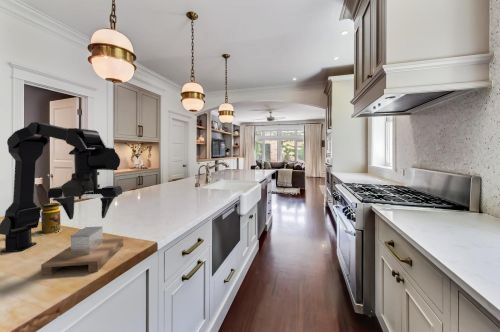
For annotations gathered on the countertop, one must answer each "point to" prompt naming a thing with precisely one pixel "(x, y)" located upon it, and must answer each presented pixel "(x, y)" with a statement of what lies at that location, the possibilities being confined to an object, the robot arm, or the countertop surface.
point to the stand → (84, 257)
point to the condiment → (50, 219)
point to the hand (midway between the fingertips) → (87, 218)
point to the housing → (86, 240)
